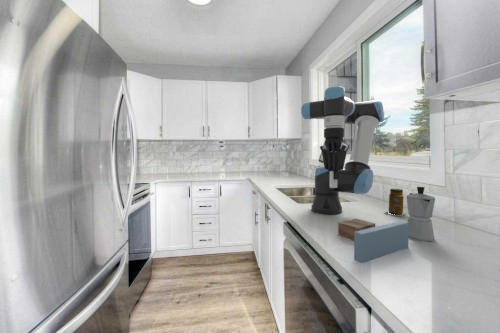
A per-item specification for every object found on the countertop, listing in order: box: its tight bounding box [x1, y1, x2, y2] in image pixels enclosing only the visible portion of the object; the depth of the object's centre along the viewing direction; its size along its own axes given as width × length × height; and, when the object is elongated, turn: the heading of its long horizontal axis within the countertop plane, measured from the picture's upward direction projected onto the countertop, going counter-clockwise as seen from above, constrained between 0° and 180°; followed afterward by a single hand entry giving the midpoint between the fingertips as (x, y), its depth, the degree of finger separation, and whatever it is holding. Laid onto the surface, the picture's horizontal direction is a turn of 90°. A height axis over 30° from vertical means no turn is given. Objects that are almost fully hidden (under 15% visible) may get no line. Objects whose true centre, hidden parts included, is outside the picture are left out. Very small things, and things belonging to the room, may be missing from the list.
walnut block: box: [337, 218, 376, 242], centre depth 89 cm, size 10×8×5 cm
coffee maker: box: [406, 186, 436, 243], centre depth 87 cm, size 15×9×18 cm, turn 168°
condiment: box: [383, 188, 404, 217], centre depth 119 cm, size 7×8×12 cm
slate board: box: [353, 220, 409, 263], centre depth 74 cm, size 22×2×8 cm, turn 118°
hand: (333, 187), depth 98 cm, fingers closed
